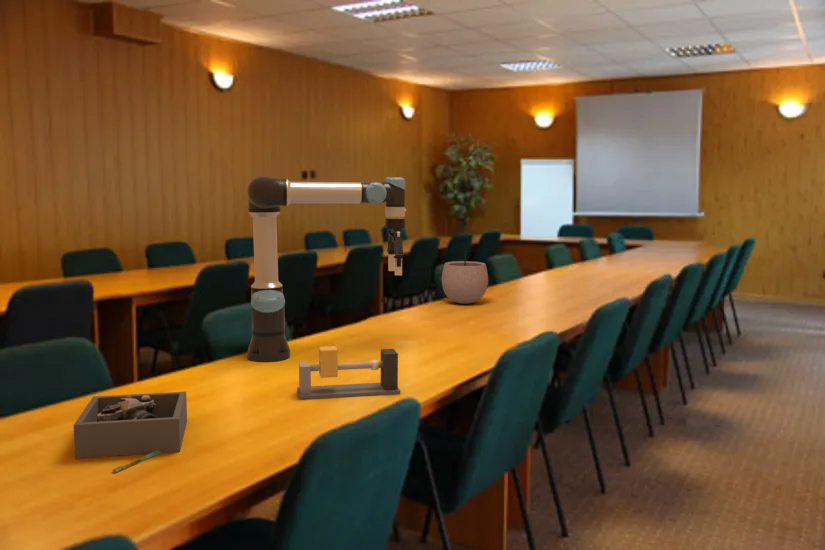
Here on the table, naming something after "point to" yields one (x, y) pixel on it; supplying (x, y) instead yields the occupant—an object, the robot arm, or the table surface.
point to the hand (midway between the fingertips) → (394, 273)
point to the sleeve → (328, 361)
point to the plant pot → (464, 280)
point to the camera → (129, 409)
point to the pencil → (136, 461)
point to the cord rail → (350, 390)
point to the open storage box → (131, 428)
